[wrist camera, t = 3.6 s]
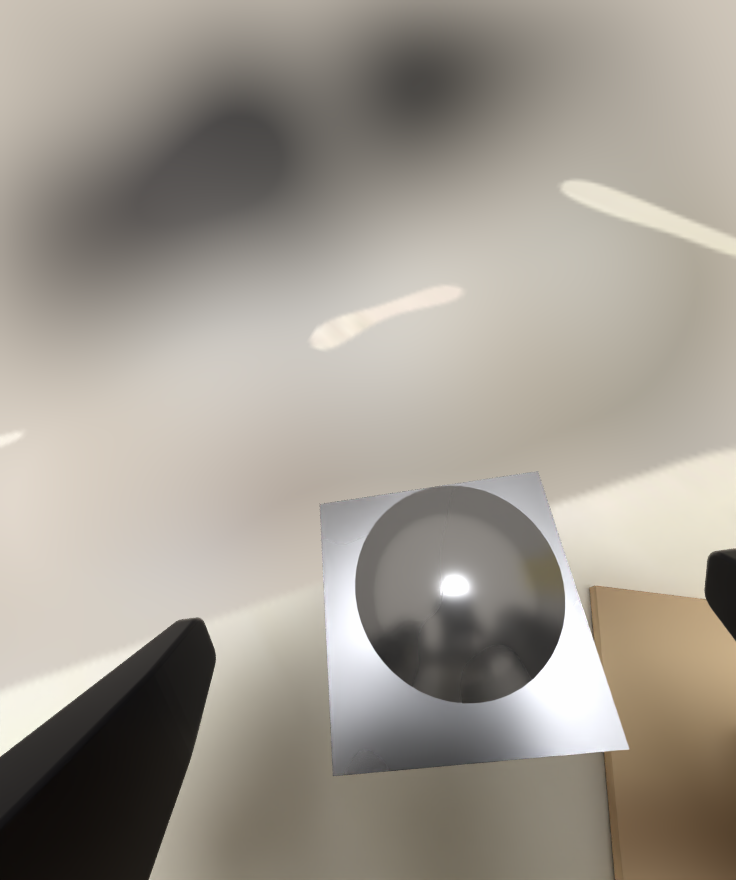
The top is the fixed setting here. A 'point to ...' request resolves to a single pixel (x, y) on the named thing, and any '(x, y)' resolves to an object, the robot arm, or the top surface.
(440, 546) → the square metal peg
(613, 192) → the top surface
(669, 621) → the socket
